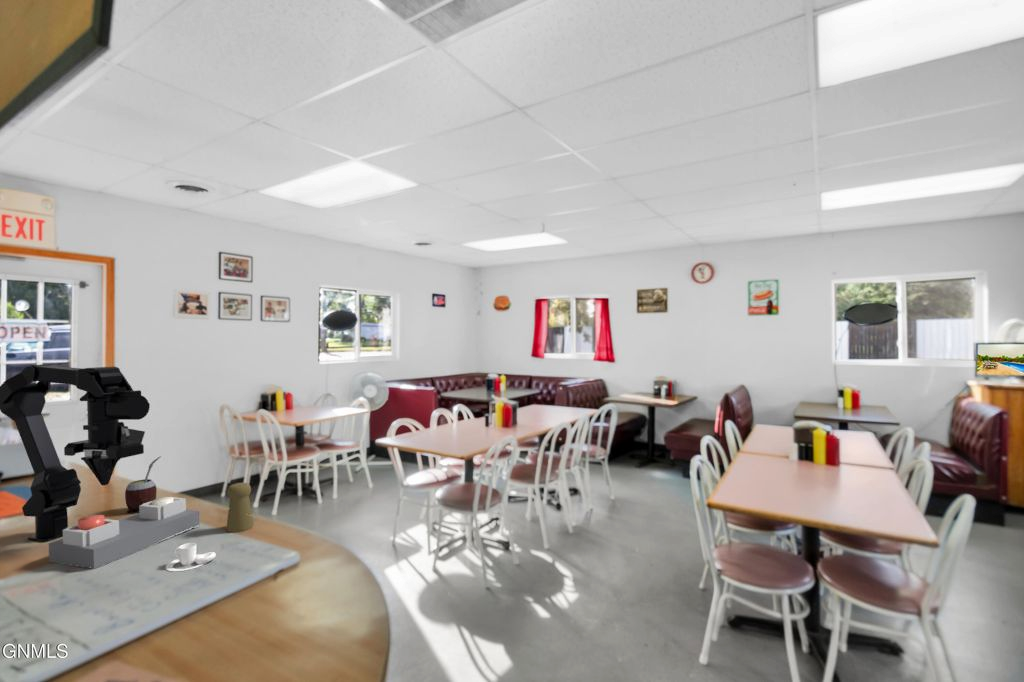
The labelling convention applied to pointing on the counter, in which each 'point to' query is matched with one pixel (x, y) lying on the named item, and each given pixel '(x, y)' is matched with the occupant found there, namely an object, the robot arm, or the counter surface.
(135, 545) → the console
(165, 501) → the cream plunger
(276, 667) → the counter surface
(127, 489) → the mate gourd
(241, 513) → the cork
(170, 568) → the teacup and saucer
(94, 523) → the red plunger
